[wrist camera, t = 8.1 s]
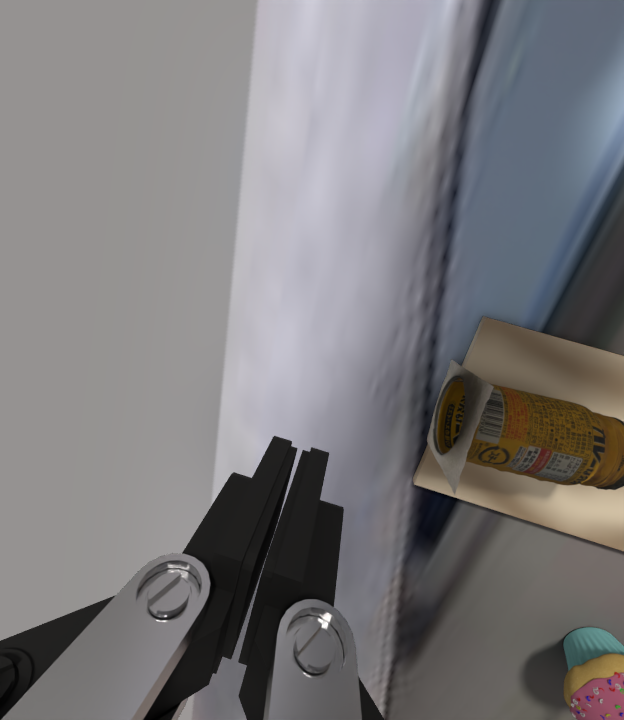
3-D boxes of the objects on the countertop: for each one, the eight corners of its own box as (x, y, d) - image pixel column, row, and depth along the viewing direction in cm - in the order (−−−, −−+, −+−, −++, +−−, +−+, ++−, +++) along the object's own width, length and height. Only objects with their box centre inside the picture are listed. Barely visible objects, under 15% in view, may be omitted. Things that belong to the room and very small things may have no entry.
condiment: (424, 438, 29) (566, 472, 28) (451, 494, 21) (653, 545, 20) (448, 358, 28) (599, 391, 27) (488, 385, 19) (709, 434, 18)
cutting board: (482, 316, 26) (486, 317, 26) (759, 393, 25) (771, 398, 24) (412, 478, 31) (413, 484, 31) (640, 551, 30) (647, 558, 29)
